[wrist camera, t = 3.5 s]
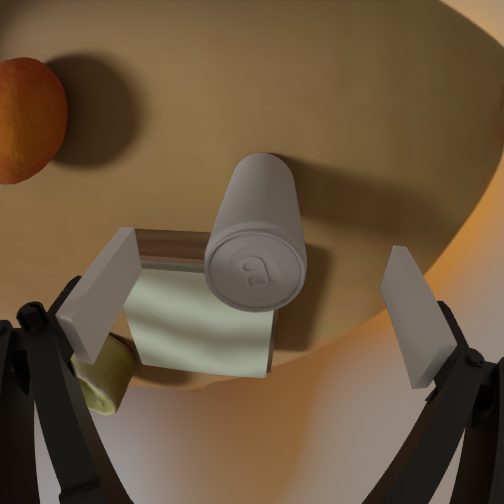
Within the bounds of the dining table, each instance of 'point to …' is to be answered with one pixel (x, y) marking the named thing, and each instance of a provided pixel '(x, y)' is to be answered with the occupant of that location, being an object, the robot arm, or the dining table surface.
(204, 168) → the dining table surface
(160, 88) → the dining table surface
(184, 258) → the podium
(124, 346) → the mug
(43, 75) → the fruit
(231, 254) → the beverage can
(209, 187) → the dining table surface
